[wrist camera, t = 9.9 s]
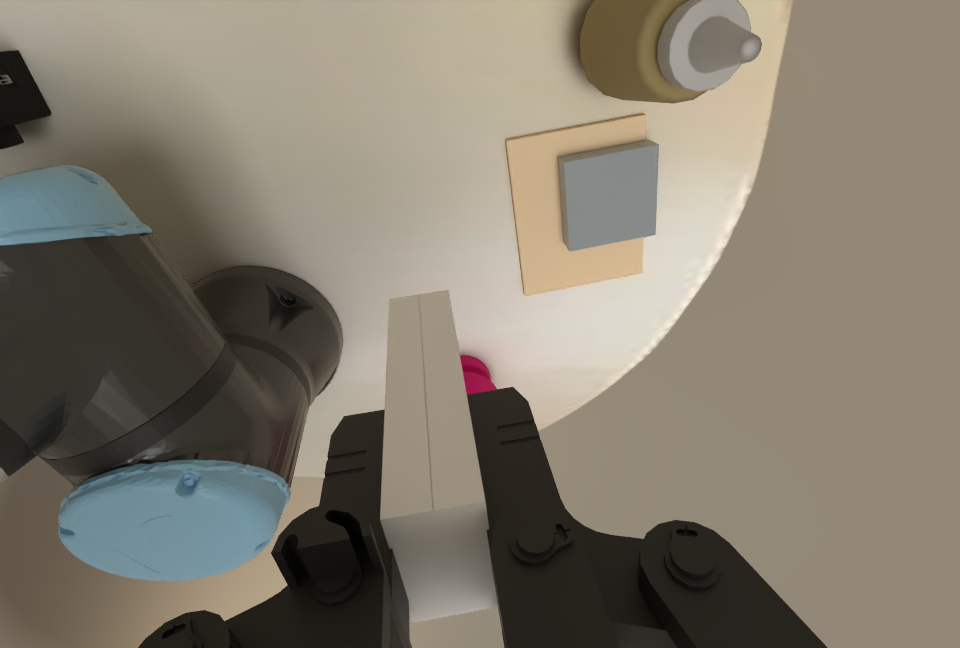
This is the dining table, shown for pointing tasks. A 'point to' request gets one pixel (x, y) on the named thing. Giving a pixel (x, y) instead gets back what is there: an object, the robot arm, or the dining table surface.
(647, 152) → the tile
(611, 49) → the squeeze bottle
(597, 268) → the mat
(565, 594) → the robot arm
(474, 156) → the dining table surface
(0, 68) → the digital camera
